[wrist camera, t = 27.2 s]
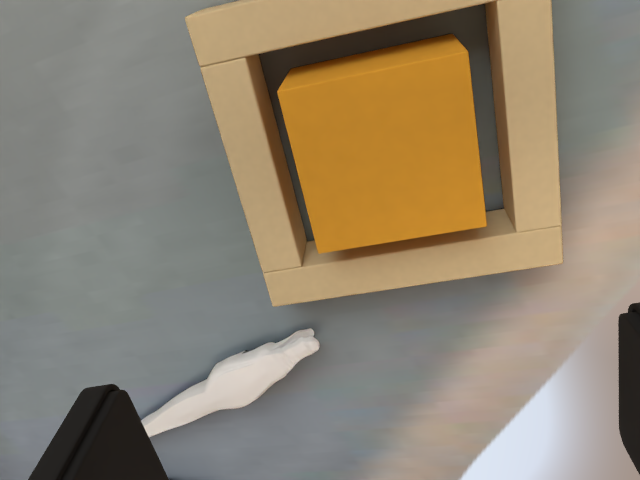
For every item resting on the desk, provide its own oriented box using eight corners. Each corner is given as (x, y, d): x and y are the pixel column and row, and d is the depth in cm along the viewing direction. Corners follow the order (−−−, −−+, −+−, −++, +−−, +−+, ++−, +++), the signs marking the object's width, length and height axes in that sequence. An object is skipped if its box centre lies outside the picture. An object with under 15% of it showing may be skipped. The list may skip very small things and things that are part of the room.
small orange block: (324, 212, 27) (317, 254, 23) (289, 68, 24) (276, 91, 21) (471, 187, 26) (487, 227, 22) (453, 32, 23) (468, 50, 19)
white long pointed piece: (304, 307, 29) (301, 329, 28) (335, 343, 30) (333, 367, 29) (96, 422, 34) (82, 448, 32) (127, 451, 35) (115, 477, 33)
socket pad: (280, 279, 29) (272, 307, 27) (201, 9, 23) (183, 17, 21) (547, 237, 27) (564, 264, 24) (529, -70, 21) (548, -71, 19)
